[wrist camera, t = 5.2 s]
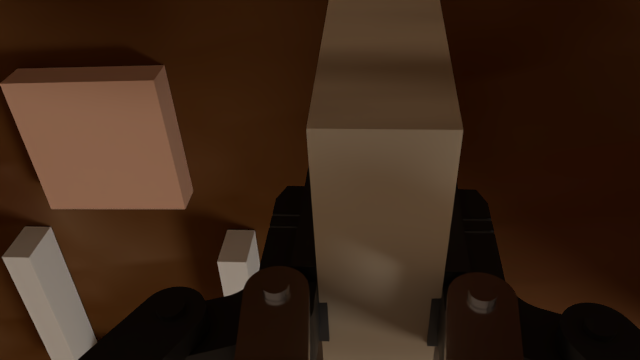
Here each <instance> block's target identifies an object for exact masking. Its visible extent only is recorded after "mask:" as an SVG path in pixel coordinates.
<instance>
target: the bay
mask: <svg viewBox="0 0 640 360" xmlns="http://www.w3.org/2000/svg"><path fill="white" fill-rule="evenodd" d="M2 259H3V261H4V263H5V265H6V267H7V269H8V271H9V273H10V275H11V277H12V279H13V281H14V283H15V285H16V288H17V290H18V292H19V294H20V296H21V298H22V300H23V302H24V304H25V306H26V308H27V310H28V312H29V314H30V316H31V318H32V320H33V323H34V325H35V327H36V329H37V331H38V333H39V335H40V337H41V339H42V341H43V343H44V345H45V347H46V349H47V351H48V353H49V355H50V358H51V360H78V359H79V358H80V357H81V356H82V355H84V354H85V353H86V352H87V351H88V350H89V349H90V348H92V347H93V346H94V345H95V344H96V343H97V340H96V337H95V335H94V333H93V330H92V328H91V325H90V323H89V320H88V318H87V315H86V313H85V310H84V308H83V305H82V303H81V300H80V298H79V295H78V293H77V291H76V288H75V286H74V283H73V281H72V278H71V276H70V273H69V271H68V268H67V266H66V263H65V261H64V258H63V256H62V253H61V251H60V249H59V246H58V244H57V241H56V239H55V236H54V234H53V231H52V229H51V227H29V226H25V227H24V229H23V230H22V231H21V232H20V234H19V235H18V236H17V238H16V239H15V240H14V242H13V243H12V244H11V246H10V247H9V248H8V250H7V251H6V252H5V253H4V255H3V256H2ZM217 264H218V269H219V274H220V279H221V284H222V289H223V294H224V297H225V296H229V295H232V294H235V293H237V292H239V291H241V290H243V289H244V286H245V284H246V282H247V280H248V279H249V278H250V277H251V276H252V275H253V274H255V273H256V272H258V271H259V268H260V262H259V255H258V248H257V241H256V235H255V230H227V233H226V236H225V239H224V242H223V245H222V248H221V251H220V254H219V257H218V260H217Z"/></svg>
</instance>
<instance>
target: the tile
mask: <svg viewBox="0 0 640 360" xmlns="http://www.w3.org/2000/svg"><path fill="white" fill-rule="evenodd" d="M0 86H1V88H2V91H3V93H4V96H5V98H6V100H7V103H8V105H9V108H10V110H11V112H12V115H13V117H14V120H15V122H16V125H17V127H18V129H19V132H20V134H21V137H22V139H23V141H24V144H25V146H26V149H27V151H28V154H29V156H30V158H31V161H32V163H33V166H34V168H35V170H36V173H37V175H38V178H39V180H40V183H41V185H42V187H43V190H44V192H45V195H46V197H47V199H48V202H49V204H50V207H51V209H186V207H187V204H188V202H189V200H190V197H191V195H192V193H193V188H192V183H191V179H190V175H189V170H188V166H187V162H186V157H185V153H184V149H183V144H182V140H181V136H180V131H179V127H178V123H177V118H176V114H175V110H174V105H173V101H172V97H171V92H170V88H169V83H168V79H167V75H166V70H165V66H164V65H149V66H107V67H65V68H23V69H16V70H15V71H14V72H13V73H12V74H10V75H9V76H8V77H7V78H6V79H5V80H3V81H2V82H1V83H0Z"/></svg>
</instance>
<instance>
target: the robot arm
mask: <svg viewBox="0 0 640 360" xmlns="http://www.w3.org/2000/svg"><path fill="white" fill-rule="evenodd" d="M329 340H330V337H329V321H328V306H327V302H325V303H319V293H318V280H317V266H316V253H315V239H314V226H313V212H312V199H311V186H310V172H309V168H308V172H307V177H306V183H305V186H287V187H286V188H285V190H284V191H283V192H282V193H281V194H280V195H279V196H278V197H277V198H276V202H275V206H274V210H273V216H272V218H271V222H270V228H269V231H268V235H267V239H266V243H265V247H264V251H263V255H262V259H261V264H260V268H259V271H258V272H256V273H255V274H253V275H252V276H251V277H250V278H249V279H248V280H247V282H246V284H245V286H244V289H243V290H241V291H239V292H237V293H235V294H232V295H229V296H225V297H221V298H216V299H212V300H207V301H205V300H204V298H203V296H202V295H201V294H200V293H199V292H197V291H196V290H194V289H191V288H187V287H171V288H167V289H164V290H161V291H159V292H157V293H155V294H153V295H152V296H151V297H149V298H148V299H147V300H146V301H144V302H143V303H142V304H141V305H140V306H139V307H138V308H136V309H135V310H134V311H133V312H132V313H131V314H129V315H128V316H127V317H126V318H125V319H124V320H123V321H121V322H120V323H119V324H118V325H117V326H116V327H115V328H113V329H112V330H111V331H110V332H109V333H108V334H107V335H105V336H104V337H103V338H102V339H101V340H100V341H98V342H97V343H96V344H95V345H94V346H93V347H92V348H90V349H89V350H88V351H87V352H86V353H85V354H84V355H82V356H81V357H80V358H79V359H78V360H316V359H317V352H318V343H319V341H328V342H329ZM427 346H435V347H438V351H439V360H640V330H639V329H638V328H637V327H636V326H635V325H634V324H633V323H632V322H631V321H629V320H628V319H627V318H626V317H625V316H624V315H622V314H621V313H619V312H618V311H616V310H614V309H612V308H610V307H607V306H604V305H601V304H596V303H579V304H575V305H572V306H570V307H568V308H567V309H566V310H565V311H564V312H563V314H562V315H561V314H558V313H554V312H551V311H547V310H544V309H540V308H538V307H535V306H532V305H530V304H528V303H526V302H524V301H523V300H521V299H520V298H518V297H517V295H516V293H515V291H514V290H513V288H512V287H511V286H510V285H509V284H508V283H507V282H506V281H505V278H504V274H503V270H502V265H501V261H500V256H499V252H498V247H497V243H496V238H495V234H494V229H493V225H492V221H491V216H490V212H489V207H488V203H487V202H486V201H485V200H484V199H483V197H482V196H481V195H480V194H479V193H478V192H477V190H464V189H458V188H457V182H456V190H455V197H454V205H453V212H452V220H451V227H450V235H449V243H448V250H447V258H446V265H445V273H444V281H443V287H442V295H441V298H434V299H432V300H431V309H430V318H429V327H428V336H427Z"/></svg>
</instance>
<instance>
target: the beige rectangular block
mask: <svg viewBox="0 0 640 360" xmlns="http://www.w3.org/2000/svg"><path fill="white" fill-rule="evenodd" d="M306 132H307V145H308V159H309V172H310V186H311V199H312V212H313V226H314V239H315V253H316V266H317V280H318V293H319V303H325V302H327V306H328V321H329V337H330V340H329V342H328V341H319V343H318V352H317V359H316V360H439V351H438V347H435V346H427V336H428V327H429V318H430V309H431V300H432V299H434V298H441V295H442V287H443V281H444V273H445V265H446V258H447V250H448V243H449V235H450V227H451V220H452V212H453V205H454V197H455V190H456V182H457V174H458V167H459V159H460V152H461V144H462V137H463V125H462V120H461V114H460V109H459V103H458V98H457V92H456V87H455V81H454V75H453V70H452V64H451V59H450V53H449V48H448V42H447V37H446V31H445V26H444V20H443V15H442V9H441V4H440V0H329V2H328V7H327V13H326V19H325V25H324V30H323V36H322V42H321V47H320V53H319V59H318V65H317V70H316V76H315V82H314V87H313V93H312V99H311V104H310V110H309V116H308V122H307V127H306Z"/></svg>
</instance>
